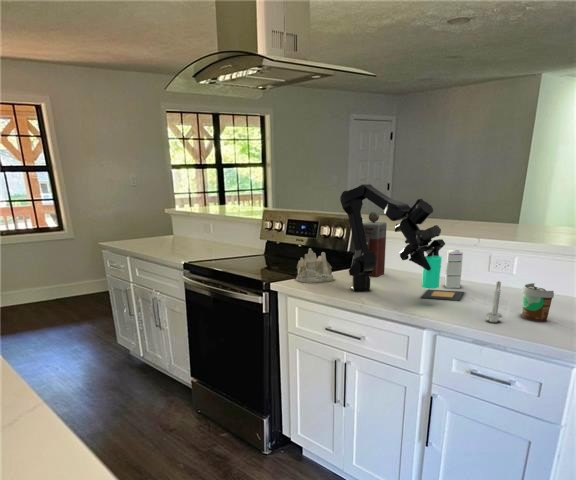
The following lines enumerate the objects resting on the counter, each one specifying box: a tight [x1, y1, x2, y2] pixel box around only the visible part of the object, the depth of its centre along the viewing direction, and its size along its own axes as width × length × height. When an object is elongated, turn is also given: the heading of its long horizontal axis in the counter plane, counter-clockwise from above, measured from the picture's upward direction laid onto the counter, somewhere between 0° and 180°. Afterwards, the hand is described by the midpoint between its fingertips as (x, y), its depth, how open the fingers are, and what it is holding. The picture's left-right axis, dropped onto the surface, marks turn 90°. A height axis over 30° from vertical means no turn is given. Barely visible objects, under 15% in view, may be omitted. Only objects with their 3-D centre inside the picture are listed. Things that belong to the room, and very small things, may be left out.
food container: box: [521, 282, 555, 322], centre depth 162 cm, size 12×6×10 cm, turn 5°
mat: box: [420, 288, 465, 302], centre depth 195 cm, size 14×14×1 cm
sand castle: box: [296, 247, 335, 284], centre depth 228 cm, size 16×16×15 cm
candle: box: [421, 255, 443, 290], centre depth 178 cm, size 6×6×12 cm
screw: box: [485, 280, 503, 323], centre depth 159 cm, size 13×5×5 cm
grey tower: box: [444, 249, 464, 289], centre depth 206 cm, size 6×6×14 cm
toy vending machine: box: [363, 211, 387, 278], centre depth 230 cm, size 9×11×28 cm
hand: (434, 268), depth 177 cm, fingers closed on candle, 5 cm apart
